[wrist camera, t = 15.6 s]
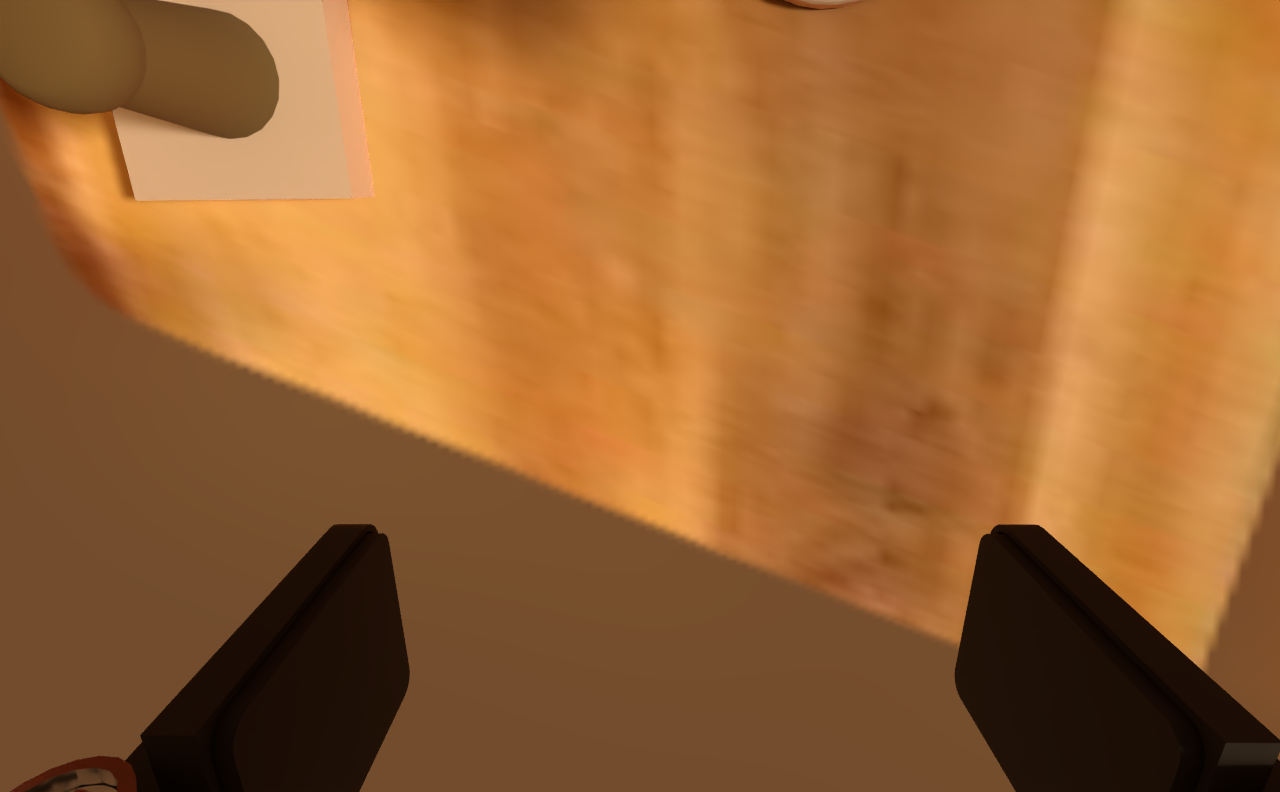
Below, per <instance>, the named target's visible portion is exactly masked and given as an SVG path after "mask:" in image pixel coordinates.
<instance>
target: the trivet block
mask: <svg viewBox="0 0 1280 792" xmlns="http://www.w3.org/2000/svg"><path fill="white" fill-rule="evenodd" d="M161 1H167V2H173V3H179V4H185V5H191V6H197V7H203V8H209V9H214V10H218V11H222V12H227V13H230V14H232V15H234V16H235V17H237V18H239V19H240V20H242V21H244V22H245V23H247V24H248V25H249V26H250V27H251V28H252V29H253V30H254V31H255V32H256V33H257V34H258V35H259V36H260V37H261V38H262V39H263V40H264V42H265V44H266V46H267V48H268V49H269V51H270V53H271V55H272V56H273V58H274V61H275V65H276V69H277V73H278V77H279V100H278V103H277V106H276V109H275V111H274V114H273V117H272V118H271V119H270V120H269V121H268V123H267V124H266V125H265V126H264V127H263V129H262V130H260V131H258V132H256V133H254V134H252V135H250V136H248V137H244V138H235V139H227V138H223V137H219V136H214V135H210V134H207V133H204V132H200V131H197V130H194V129H190V128H187V127H184V126H180V125H177V124H174V123H171V122H167V121H164V120H161V119H157V118H154V117H151V116H147V115H144V114H141V113H137V112H134V111H131V110H127V109H124V108H121V107H119V108H117V109H115V110H112V113H113V116H114V120H115V124H116V128H117V132H118V135H119V139H120V143H121V147H122V151H123V155H124V158H125V162H126V166H127V170H128V174H129V177H130V181H131V185H132V189H133V193H134V197H135V200H136V201H152V200H257V199H353V198H367V197H375V195H374V188H373V181H372V173H371V166H370V159H369V152H368V145H367V138H366V131H365V124H364V117H363V110H362V103H361V96H360V89H359V82H358V75H357V68H356V61H355V54H354V46H353V39H352V32H351V25H350V18H349V11H348V4H347V0H161Z"/></svg>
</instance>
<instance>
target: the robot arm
mask: <svg viewBox="0 0 1280 792" xmlns="http://www.w3.org/2000/svg"><path fill="white" fill-rule="evenodd" d="M784 1H787V2H790V3H792V4H795V5H797V6H804V7H810V8H817V9H826V8H840V7H845V6H849V5H852V4H856V3H859V2H863V1H866V0H784ZM409 674H410V671H409V663H408V657H407V650H406V644H405V638H404V632H403V626H402V620H401V614H400V608H399V601H398V595H397V589H396V583H395V577H394V571H393V565H392V558H391V552H390V546H389V541H388V538H387V536H386V535H385V534H378V531H377V530H376V528H375V526H373V525H371V524H338V525H333V526H332V527H331V528H330V529H329V530H328V531H327V532H326V533H325V534H324V535H323V536H322V537H321V538H320V539H319V541H318V542H317V543H316V544H315V545H314V546H313V547H312V548H311V549H310V550H309V552H308V553H307V554H306V555H305V556H304V557H303V558H302V559H301V560H300V561H299V562H298V564H297V565H296V566H295V567H294V568H293V569H292V570H291V571H290V572H289V573H288V575H287V576H286V577H285V578H284V579H283V580H282V581H281V582H280V583H279V584H278V585H277V587H276V588H275V589H274V590H273V591H272V592H271V593H270V594H269V595H268V596H267V597H266V599H265V600H264V601H263V602H262V603H261V604H260V605H259V606H258V607H257V608H256V609H255V611H254V612H253V613H252V614H251V615H250V616H249V617H248V618H247V619H246V620H245V621H244V623H243V624H242V625H241V626H240V627H239V628H238V629H237V630H236V631H235V632H234V633H233V635H232V636H231V637H230V638H229V639H228V640H227V641H226V642H225V643H224V644H223V646H221V648H220V649H219V650H218V651H217V652H216V653H215V654H214V655H213V656H212V657H211V659H210V660H209V661H208V662H207V663H206V664H205V665H204V666H203V667H202V668H201V670H200V671H199V672H198V673H197V674H196V675H195V676H194V677H193V678H192V679H191V680H190V682H189V683H188V684H187V685H186V686H185V687H184V688H183V689H182V690H181V691H180V692H179V693H178V695H177V696H176V697H175V698H174V699H173V700H172V701H171V702H170V703H169V704H168V705H167V707H166V708H165V709H164V710H163V711H162V712H161V713H160V714H159V715H158V716H157V718H156V719H155V720H154V721H153V722H152V723H151V724H150V725H149V726H148V727H147V729H145V731H144V732H143V733H142V734H141V739H142V743H141V744H140V745H139V746H138V747H137V748H136V749H135V751H134V752H133V753H132V754H131V755H130V756H129V757H128V758H127V759H126V760H125V761H124V760H122V759H121V758H119V757H109V756H96V757H89V758H83V759H78V760H74V761H72V762H69V763H66V764H63V765H60V766H57V767H54V768H51V769H49V770H47V771H45V772H43V773H41V774H39V775H37V776H35V777H33V778H31V779H29V780H28V781H25V782H24V783H22V784H20V785H19V786H17V787H16V788H14V789H13V790H11V791H10V792H359V791H360V789H361V787H362V785H363V783H364V781H365V778H366V776H367V774H368V772H369V770H370V768H371V766H372V764H373V761H374V759H375V757H376V755H377V753H378V751H379V749H380V747H381V745H382V743H383V741H384V738H385V736H386V734H387V732H388V730H389V728H390V726H391V724H392V722H393V719H394V717H395V715H396V713H397V711H398V709H399V707H400V705H401V702H402V701H403V698H404V696H405V694H406V691H407V688H408V683H409ZM955 683H956V688H957V691H958V694H959V696H960V698H961V700H962V701H963V703H964V705H965V707H966V708H967V710H968V712H969V713H970V715H971V717H972V718H973V720H974V722H975V723H976V725H977V727H978V729H979V730H980V732H981V733H982V735H983V737H984V738H985V740H986V742H987V744H988V745H989V747H990V749H991V750H992V752H993V754H994V756H995V757H996V759H997V761H998V762H999V764H1000V766H1001V767H1002V769H1003V771H1004V772H1005V774H1006V776H1007V777H1008V779H1009V781H1010V782H1011V784H1012V786H1013V788H1014V789H1015V791H1016V792H1280V761H1279V760H1278V759H1277V757H1278V755H1279V752H1280V740H1279V739H1278V738H1277V737H1276V736H1275V735H1274V734H1273V733H1272V732H1270V731H1269V730H1268V729H1267V728H1266V727H1265V726H1264V725H1263V724H1261V723H1260V722H1259V721H1258V720H1257V719H1256V718H1255V717H1254V716H1252V715H1251V714H1250V713H1249V712H1248V711H1247V710H1246V709H1245V708H1244V707H1242V706H1241V705H1240V704H1239V703H1238V702H1237V701H1236V700H1235V699H1234V698H1232V697H1231V696H1230V695H1229V694H1228V693H1227V692H1226V691H1225V690H1223V689H1222V688H1221V687H1220V686H1219V685H1218V684H1217V683H1216V682H1215V681H1213V680H1212V679H1211V678H1210V677H1209V676H1208V675H1207V674H1206V673H1205V672H1203V671H1202V670H1201V669H1200V668H1199V667H1198V666H1197V665H1196V664H1194V663H1193V662H1192V661H1191V660H1190V659H1189V658H1188V657H1187V656H1186V655H1184V654H1183V653H1182V652H1181V651H1180V650H1179V649H1178V648H1177V647H1175V646H1174V645H1173V644H1172V643H1171V642H1170V641H1169V640H1168V639H1167V638H1165V637H1164V636H1163V635H1162V634H1161V633H1160V632H1159V631H1158V630H1156V629H1155V628H1154V627H1153V626H1152V625H1151V624H1150V623H1149V622H1148V621H1146V620H1145V619H1144V618H1143V617H1142V616H1141V615H1140V614H1139V613H1137V612H1136V611H1135V610H1134V609H1133V608H1132V607H1131V606H1130V605H1129V604H1127V603H1126V602H1125V601H1124V600H1123V599H1122V598H1121V597H1120V596H1118V595H1117V594H1116V593H1115V592H1114V591H1113V590H1112V589H1111V588H1110V587H1108V586H1107V585H1106V584H1105V583H1104V582H1103V581H1102V580H1101V579H1099V578H1098V577H1097V576H1096V575H1095V574H1094V573H1093V572H1092V571H1091V570H1089V569H1088V568H1087V567H1086V566H1085V565H1084V564H1083V563H1082V562H1080V561H1079V560H1078V559H1077V558H1076V557H1075V556H1074V555H1073V554H1072V553H1070V552H1069V551H1068V550H1067V549H1066V548H1065V547H1064V546H1063V545H1061V544H1060V543H1059V542H1058V541H1057V540H1056V539H1055V538H1054V537H1053V536H1051V535H1050V534H1049V533H1048V532H1047V531H1046V530H1045V529H1044V528H1042V527H1040V526H1039V525H997V526H995V527H994V528H993V529H992V531H991V534H985V535H983V537H982V538H981V541H980V544H979V549H978V554H977V560H976V565H975V570H974V575H973V580H972V585H971V590H970V596H969V601H968V606H967V611H966V616H965V621H964V626H963V632H962V637H961V642H960V647H959V652H958V658H957V662H956V668H955Z"/></svg>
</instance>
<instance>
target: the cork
mask: <svg viewBox="0 0 1280 792" xmlns="http://www.w3.org/2000/svg"><path fill="white" fill-rule="evenodd" d="M0 77H1V78H2V79H3V80H4V81H5V82H6V83H7V84H8V85H9V86H11V87H12V88H13V89H14V90H15V91H16V92H18V93H20V94H22V95H23V96H25V97H27V98H29V99H31V100H33V101H34V102H36V103H38V104H41V105H43V106H46V107H48V108H51V109H56V110H60V111H65V112H69V113H76V114H92V113H101V112H107V111H111V110H115V109H117V108H119V107H121V108H124V109H127V110H131V111H134V112H137V113H141V114H144V115H147V116H151V117H154V118H157V119H161V120H164V121H167V122H171V123H174V124H177V125H180V126H184V127H187V128H190V129H194V130H197V131H200V132H204V133H207V134H210V135H214V136H219V137H223V138H227V139H235V138H244V137H248V136H250V135H252V134H254V133H256V132H258V131H260V130H262V129H263V127H264V126H265V125H266V124H267V123H268V121H269V120H270V119H271V118H272V117H273V114H274V111H275V109H276V106H277V103H278V100H279V77H278V73H277V69H276V65H275V61H274V58H273V56H272V55H271V53H270V51H269V49H268V48H267V46H266V44H265V42H264V40H263V39H262V38H261V37H260V36H259V35H258V34H257V33H256V32H255V31H254V30H253V29H252V28H251V27H250V26H249V25H248V24H247V23H245V22H244V21H242V20H240V19H239V18H237V17H235V16H234V15H232V14H230V13H227V12H222V11H218V10H214V9H209V8H203V7H197V6H191V5H185V4H179V3H173V2H167V1H161V0H0Z"/></svg>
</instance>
